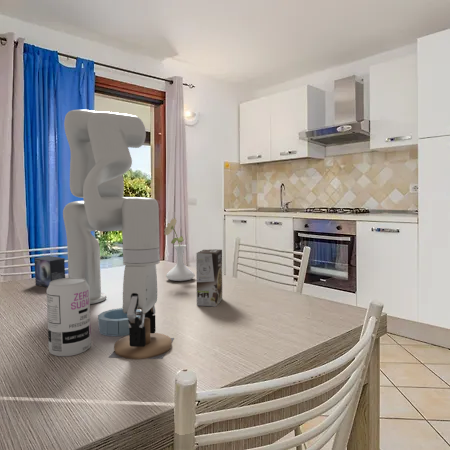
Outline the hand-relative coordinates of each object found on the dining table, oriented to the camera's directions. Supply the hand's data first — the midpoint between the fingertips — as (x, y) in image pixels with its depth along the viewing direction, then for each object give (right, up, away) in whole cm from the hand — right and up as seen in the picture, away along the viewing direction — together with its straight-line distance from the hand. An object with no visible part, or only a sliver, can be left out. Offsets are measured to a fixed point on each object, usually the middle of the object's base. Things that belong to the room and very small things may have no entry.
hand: (143, 338), depth 80 cm
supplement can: (-15, -3, -1) cm, 16 cm away
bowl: (-8, -2, +12) cm, 14 cm away
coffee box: (+13, 0, +36) cm, 38 cm away
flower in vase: (-1, +2, +68) cm, 68 cm away
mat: (0, -2, 0) cm, 2 cm away
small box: (-48, +1, +61) cm, 78 cm away
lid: (0, -2, 0) cm, 2 cm away
